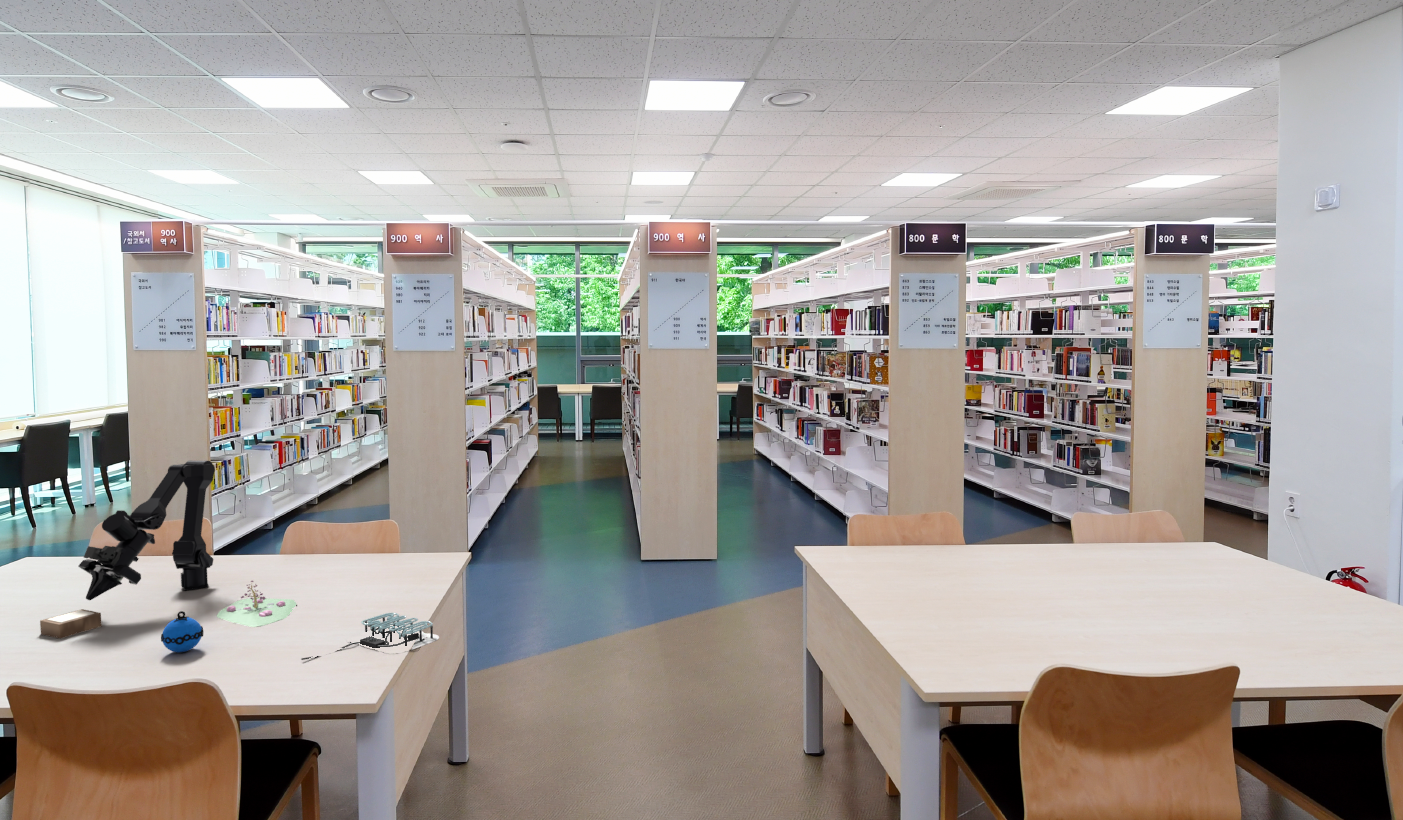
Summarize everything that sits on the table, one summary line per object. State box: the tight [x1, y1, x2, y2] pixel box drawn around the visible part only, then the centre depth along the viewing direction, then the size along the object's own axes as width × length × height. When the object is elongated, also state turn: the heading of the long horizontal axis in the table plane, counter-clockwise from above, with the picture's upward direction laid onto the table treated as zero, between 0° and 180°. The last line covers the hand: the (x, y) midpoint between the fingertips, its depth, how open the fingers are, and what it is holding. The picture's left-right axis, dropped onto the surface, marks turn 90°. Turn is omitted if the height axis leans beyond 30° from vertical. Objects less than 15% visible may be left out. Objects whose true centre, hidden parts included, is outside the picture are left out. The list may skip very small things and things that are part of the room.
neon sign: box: [300, 612, 440, 661], centre depth 201 cm, size 21×4×29 cm
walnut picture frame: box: [39, 609, 102, 640], centre depth 213 cm, size 4×8×10 cm
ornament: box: [160, 610, 204, 654], centre depth 198 cm, size 9×9×10 cm
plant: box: [216, 580, 297, 628], centre depth 228 cm, size 25×21×9 cm
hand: (87, 599), depth 217 cm, fingers closed
